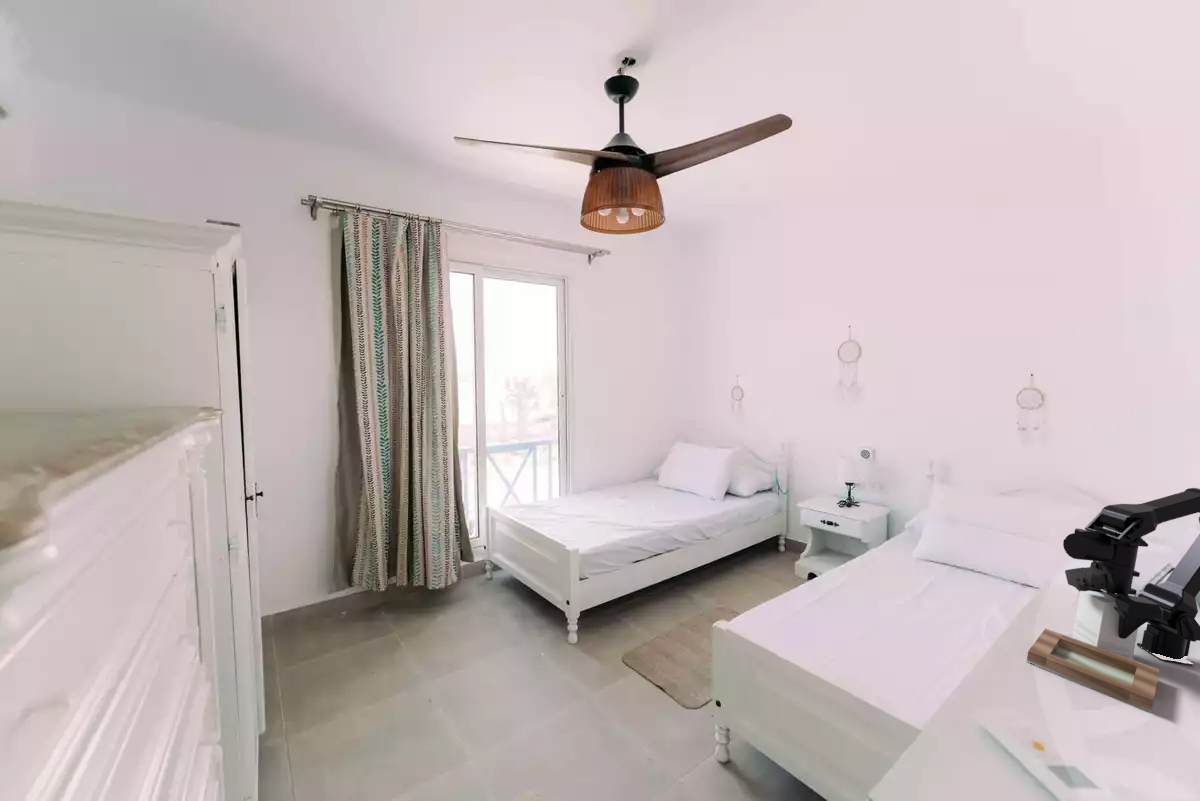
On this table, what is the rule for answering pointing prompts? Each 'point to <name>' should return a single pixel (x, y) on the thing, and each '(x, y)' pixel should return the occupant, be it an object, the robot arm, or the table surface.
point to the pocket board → (1096, 668)
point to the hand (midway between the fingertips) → (1104, 627)
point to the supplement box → (1101, 624)
